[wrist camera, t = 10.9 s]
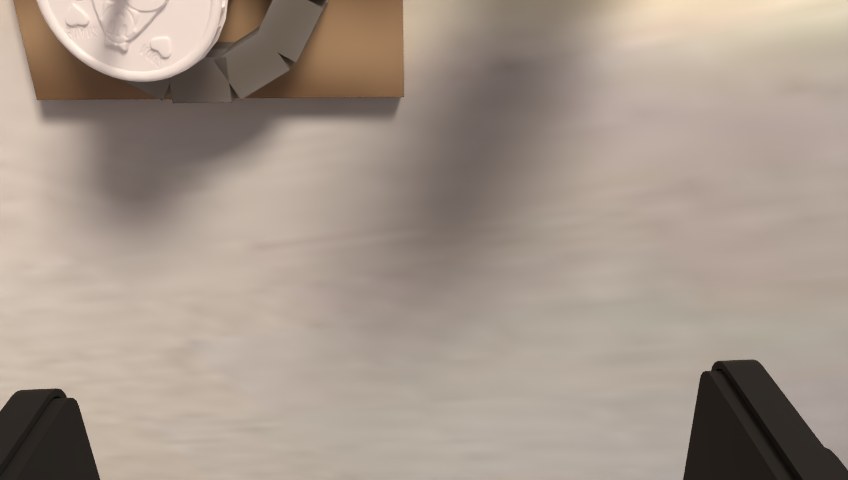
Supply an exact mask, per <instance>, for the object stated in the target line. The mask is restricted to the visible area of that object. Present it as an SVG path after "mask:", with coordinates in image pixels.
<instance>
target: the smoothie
mask: <svg viewBox="0 0 848 480" xmlns="http://www.w3.org/2000/svg"><path fill="white" fill-rule="evenodd" d="M37 3H38V5H39V8H40V10H41V13H42V15H43V17H44V19H45V21H46V22H47V24H48V26H49V27H50V29H51V30H52V32H53V33H54V34H55V36H56V37H57V38H58V40H59V41H60V42H61V43H62V44H63V45H64V46H65V47H66V48H67V49H68V50H69V51H70V52H71V53H72V54H73V55H74V56H76V57H77V58H78V59H79V60H81V61H82V62H84V63H85V64H86V65H88V66H90V67H92V68H93V69H95V70H97V71H99V72H101V73H103V74H106V75H109V76H111V77H115V78H118V79H122V80H128V81H137V82H148V81H157V80H162V79H166V78H169V77H172V76H174V75H176V74H179V73H181V72H182V71H185V70H187V69H189V68H190V67H192V66H193V65H194V64H196V63H197V62H199V61H200V60H202V59H203V58H204V57H205V56H206V55H207V53H208V52H209V51H210V49H211V48H212V47H213V46H214V44H215V43H216V42H217V41H218V38H219V36H220V33H221V30H222V28H223V25H224V23H225V20H226V14H227V4H228V0H37Z"/></svg>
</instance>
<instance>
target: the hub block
mask: <svg viewBox="0 0 848 480" xmlns="http://www.w3.org/2000/svg"><path fill="white" fill-rule="evenodd" d="M14 4H15V9H16V13H17V17H18V21H19V25H20V30H21V34H22V38H23V42H24V47H25V51H26V55H27V59H28V63H29V68H30V72H31V76H32V80H33V84H34V89H35V93H36V97H37V100H88V99H160V100H163V99H172V101H173V103H224V102H232V101H233V100H234V98H240V99H241V100H242V99H243V98H323V97H404V70H403V0H228V4H227V14H226V20H225V23H224V25H223V28H222V30H221V33H220V36H219V38H218V41H217V42H216V43H215V44H214V46H213V47H212V48H211V49H210V51H209V52H208V53H207V55H206V56H205V57H204V58H203V59H202V60H200V61H199V62H197V63H196V64H194V65H193V66H192V67H190V68H189V69H187V70H185V71H182V72H181V73H179V74H176V75H174V76H172V77H169V78H166V79H162V80H157V81H148V82H137V81H128V80H122V79H118V78H115V77H111V76H109V75H106V74H103V73H101V72H99V71H97V70H95V69H93V68H92V67H90V66H88V65H86V64H85V63H84V62H82V61H81V60H79V59H78V58H77V57H76V56H74V55H73V54H72V53H71V52H70V51H69V50H68V49H67V48H66V47H65V46H64V45H63V44H62V43H61V42H60V41H59V40H58V38H57V37H56V36H55V34H54V33H53V32H52V30H51V29H50V27H49V26H48V24H47V22H46V21H45V19H44V17H43V15H42V13H41V10H40V8H39V5H38V3H37V0H14Z"/></svg>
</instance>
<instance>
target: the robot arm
mask: <svg viewBox="0 0 848 480" xmlns="http://www.w3.org/2000/svg"><path fill="white" fill-rule="evenodd" d="M0 480H100V478H99V474H98V471H97V467H96V464H95V460H94V457H93V453H92V450H91V447H90V443H89V440H88V436H87V433H86V429H85V426H84V422H83V419H82V416H81V412H80V409H79V406H78V403H77V401H76V400H75V399H74V398H67V397H66V395H65V393H64V392H63V391H62V390H61V389H35V390H20V391H17V392H16V393H15V394H14V395H13V396H12V397H11V398H10V399H9V401H8V402H7V403H6V405H5V406H4V407H3V408H2V410H1V411H0ZM683 480H848V470H847V469H846V468H845V466H844V465H843V464H842V462H841V461H840V460H839V458H838V457H837V456H836V455H835V454H834V453H833V452H832V451H831V450H829V449H827V448H825V447H824V446H823V445H822V444H821V442H820V441H819V440H818V438H817V437H816V436H815V434H814V433H813V432H812V431H811V429H810V428H809V427H808V425H807V424H806V423H805V421H804V420H803V419H802V417H801V416H800V415H799V413H798V412H797V411H796V409H795V408H794V407H793V405H792V404H791V403H790V402H789V400H788V399H787V398H786V396H785V395H784V394H783V392H782V391H781V390H780V388H779V387H778V386H777V384H776V383H775V382H774V380H773V379H772V378H771V376H770V375H769V374H768V373H767V371H766V370H765V369H764V367H763V366H762V365H761V364H760V363H759V362H758V361H756V360H731V361H717V362H715V363H714V365H713V366H712V370H711V371H705V372H703V373H702V375H701V378H700V383H699V389H698V395H697V401H696V406H695V412H694V418H693V424H692V430H691V436H690V442H689V448H688V454H687V460H686V466H685V472H684V478H683Z"/></svg>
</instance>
